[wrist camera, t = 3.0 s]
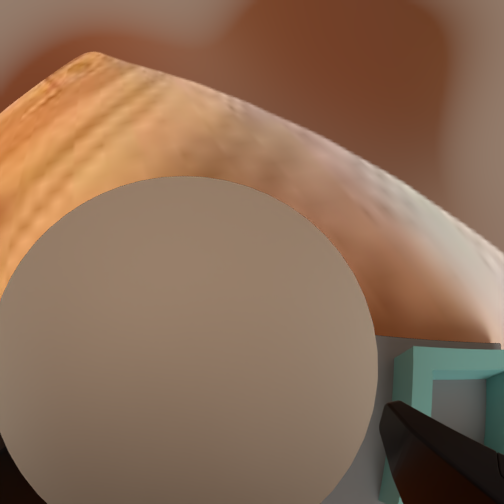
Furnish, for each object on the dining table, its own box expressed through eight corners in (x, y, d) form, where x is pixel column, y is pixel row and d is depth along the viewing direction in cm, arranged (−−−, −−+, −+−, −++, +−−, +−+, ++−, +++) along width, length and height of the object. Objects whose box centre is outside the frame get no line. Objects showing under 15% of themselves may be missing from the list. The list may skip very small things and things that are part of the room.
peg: (220, 470, 13) (101, 599, 1) (172, 402, 15) (-32, 280, 3) (291, 424, 14) (453, 381, 3) (242, 359, 16) (221, 135, 4)
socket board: (132, 483, 13) (107, 491, 10) (174, 310, 19) (160, 284, 16) (483, 497, 11) (517, 499, 8) (492, 347, 17) (522, 330, 14)
